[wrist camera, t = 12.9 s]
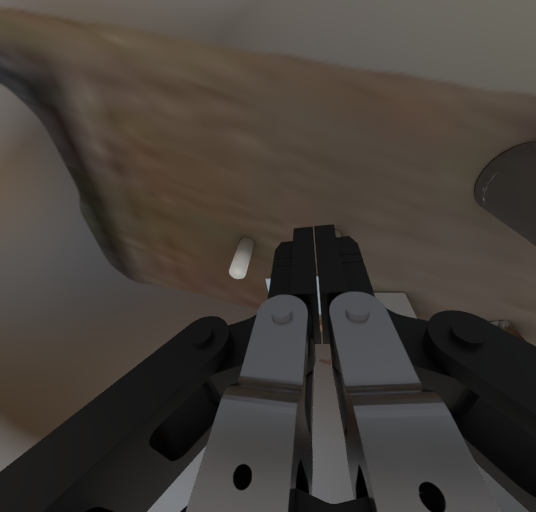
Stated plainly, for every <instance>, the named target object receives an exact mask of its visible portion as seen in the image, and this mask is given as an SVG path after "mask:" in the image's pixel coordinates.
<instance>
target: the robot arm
mask: <svg viewBox="0 0 536 512" xmlns="http://www.w3.org/2000/svg"><path fill="white" fill-rule="evenodd" d="M475 198H476V201H477V202H478V204H479V205H480V206H481V207H483V208H484V209H486V210H487V211H488V212H490V213H491V214H493V215H494V216H495V217H497V218H498V219H499V220H500V221H502V222H503V223H505V224H506V225H507V226H509V227H510V228H512V229H513V230H514V231H516V232H517V233H518V234H520V235H521V236H523V237H524V238H525V239H527V240H528V241H529V242H531V243H532V244H534V245H535V246H536V142H531V143H526V144H522V145H519V146H516V147H514V148H512V149H510V150H508V151H506V152H504V153H503V154H501V155H499V156H498V157H497V158H496V159H494V160H493V161H492V162H491V163H490V164H489V165H488V166H487V167H486V168H485V169H484V171H483V172H482V173H481V175H480V176H479V178H478V181H477V183H476V186H475ZM314 230H315V243H316V256H317V269H318V282H319V294H320V307H321V319H322V332H323V344H330V349H331V360H332V371H333V377H334V383H335V388H336V394H337V399H338V405H339V410H340V415H341V421H342V427H343V433H344V438H345V445H346V454H347V461H348V468H349V474H350V480H351V486H352V491H353V497H354V500H351V501H347V502H343V503H339V504H329V503H327V502H324V501H322V500H320V499H318V498H316V497H314V496H312V477H313V476H312V475H313V449H312V426H313V425H312V424H313V395H314V370H315V369H314V366H315V359H316V358H315V344H321V332H320V318H319V305H318V291H317V277H316V263H315V251H314V238H313V227H303V228H294V233H293V241H289V242H281V243H280V245H279V246H278V247H277V248H276V250H275V254H274V261H273V269H272V274H271V280H270V287H269V293H268V299H267V300H266V301H265V302H264V303H263V304H262V305H261V306H260V308H259V310H258V312H257V315H255V316H253V317H251V318H250V319H247V320H244V321H241V322H238V323H235V324H231V325H227V323H226V322H225V321H224V320H223V319H221V318H219V317H215V316H208V317H203V318H200V319H198V320H196V321H194V322H193V323H191V324H190V325H189V326H187V327H186V328H185V329H183V330H182V331H181V332H180V333H178V334H177V335H176V336H175V337H173V338H172V339H171V340H169V341H168V342H167V343H165V344H164V345H163V346H162V347H160V348H159V349H158V350H156V351H155V352H154V353H153V354H151V355H150V356H149V357H148V358H146V359H145V360H144V361H142V362H141V363H140V364H138V365H137V366H136V367H135V368H133V369H132V370H131V371H129V372H128V373H127V374H126V375H125V376H123V377H122V378H120V379H119V380H118V381H117V382H115V383H114V384H113V385H111V386H110V387H109V388H108V389H106V390H105V391H104V392H102V393H101V394H100V395H98V396H97V397H96V398H95V399H93V400H92V401H91V402H89V403H88V404H87V405H86V406H84V407H83V408H82V409H80V410H79V411H78V412H77V413H75V414H74V415H73V416H71V417H70V418H69V419H68V420H66V421H65V422H64V423H62V424H61V425H60V426H59V427H57V428H56V429H55V430H53V431H52V432H51V433H50V434H49V435H47V436H46V437H44V438H43V439H42V440H41V441H39V442H38V443H37V444H36V445H34V446H33V447H32V448H30V449H29V450H28V451H27V452H25V453H24V454H23V455H21V456H20V457H19V458H17V459H16V460H15V461H14V462H12V463H11V464H10V465H9V466H7V467H6V468H5V469H4V470H2V471H1V472H0V512H147V511H148V510H149V509H150V508H151V506H152V505H153V504H154V503H155V502H156V501H157V500H158V498H159V497H160V496H161V495H162V494H163V493H164V492H165V491H166V490H167V488H168V487H169V486H170V485H171V484H172V483H173V482H174V481H175V479H176V478H177V477H178V476H179V475H180V474H181V473H182V472H183V471H184V470H185V468H186V467H187V466H188V465H189V464H190V463H191V462H192V461H193V459H194V458H195V457H196V456H197V455H198V454H199V453H200V452H201V451H202V449H203V448H204V447H205V446H206V445H207V446H206V449H205V452H204V455H203V458H202V462H201V465H200V468H199V471H198V474H197V477H196V481H195V484H194V487H193V490H192V493H191V496H190V500H189V503H188V506H186V507H185V508H184V509H183V510H182V511H181V512H501V511H500V509H499V507H498V505H497V503H496V502H495V500H494V498H493V496H492V494H491V492H490V490H489V488H488V486H487V484H486V482H485V480H484V478H483V476H482V474H481V472H480V470H479V468H478V466H477V464H478V465H479V466H480V467H481V468H482V469H484V470H485V471H486V472H487V473H488V474H489V475H490V476H491V477H492V478H493V479H494V480H495V481H497V482H498V483H499V484H500V485H501V486H502V487H503V488H505V490H506V491H507V492H509V493H510V494H511V495H512V496H513V497H514V498H515V499H516V500H517V501H518V502H520V504H522V505H523V506H524V507H525V508H526V509H527V510H528V511H529V512H536V346H534V345H532V344H530V343H528V342H526V341H524V340H522V339H521V338H519V337H517V336H515V335H513V334H511V333H509V332H507V331H505V330H503V329H502V328H500V327H498V326H496V325H494V324H492V323H490V322H488V321H486V320H484V319H482V318H480V317H478V316H476V315H473V314H470V313H466V312H462V311H453V310H450V311H442V312H439V313H436V314H435V315H433V316H432V317H431V318H430V320H429V321H426V320H421V319H416V318H412V317H407V316H403V315H400V314H397V313H394V312H392V311H390V310H389V309H387V308H386V307H385V306H384V305H383V303H382V302H381V301H380V300H378V299H377V298H376V297H375V295H374V292H373V289H372V286H371V283H370V280H369V277H368V274H367V271H366V268H365V265H364V263H363V258H362V255H361V252H360V249H359V246H358V243H356V242H355V241H354V240H353V239H352V238H351V237H350V236H345V237H336V233H335V228H334V225H323V226H314ZM476 463H477V464H476Z"/></svg>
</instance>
